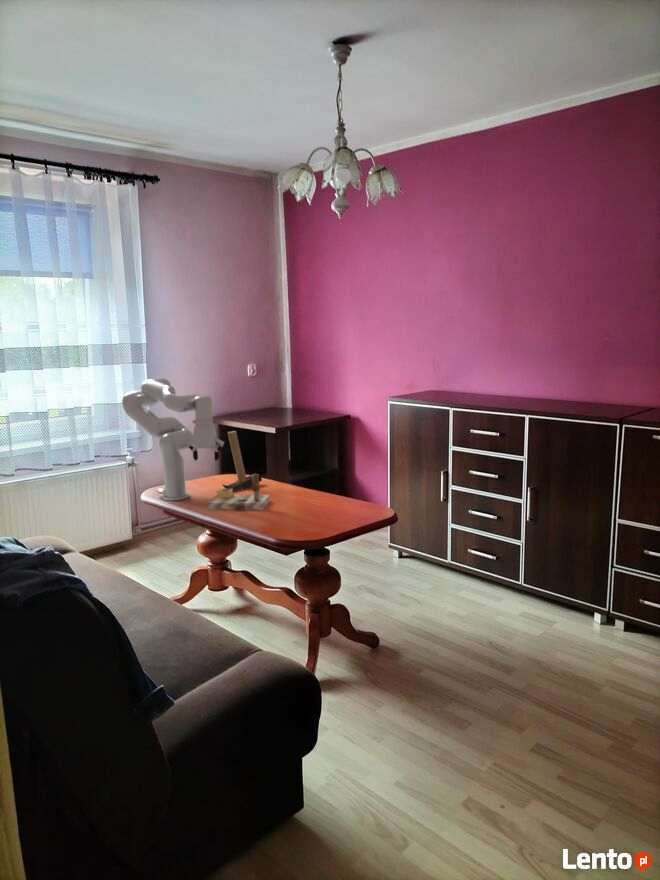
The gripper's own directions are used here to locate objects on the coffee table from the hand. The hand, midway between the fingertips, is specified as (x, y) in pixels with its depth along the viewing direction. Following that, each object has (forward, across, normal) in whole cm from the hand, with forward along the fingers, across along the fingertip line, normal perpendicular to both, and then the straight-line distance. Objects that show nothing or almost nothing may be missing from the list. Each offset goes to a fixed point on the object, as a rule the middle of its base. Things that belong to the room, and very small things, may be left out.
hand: (206, 460), depth 293 cm
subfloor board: (+20, +16, -4) cm, 26 cm away
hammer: (+20, +9, +27) cm, 35 cm away
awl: (+17, +24, -7) cm, 31 cm away
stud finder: (+17, +8, 0) cm, 19 cm away
